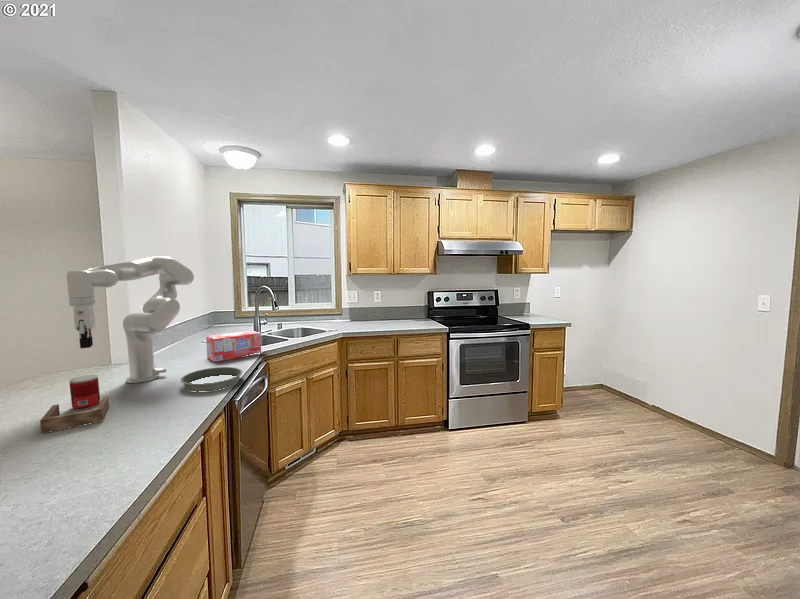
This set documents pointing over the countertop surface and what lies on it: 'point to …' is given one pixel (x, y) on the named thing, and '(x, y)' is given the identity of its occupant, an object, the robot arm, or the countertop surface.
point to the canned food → (84, 391)
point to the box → (233, 345)
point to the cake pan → (208, 373)
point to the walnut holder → (73, 417)
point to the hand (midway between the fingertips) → (86, 346)
